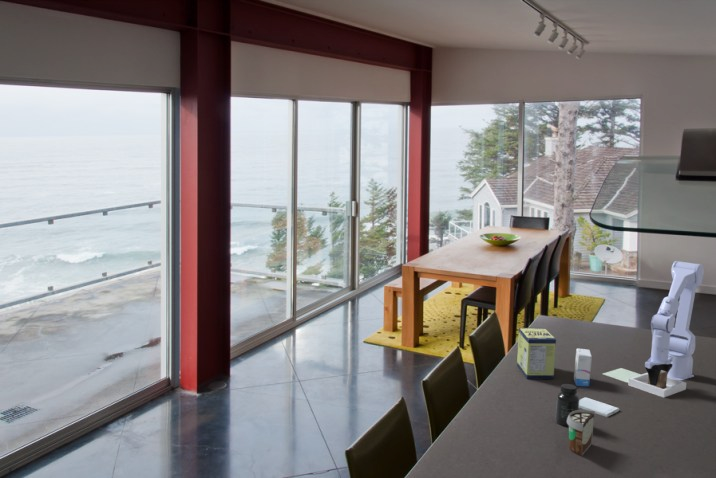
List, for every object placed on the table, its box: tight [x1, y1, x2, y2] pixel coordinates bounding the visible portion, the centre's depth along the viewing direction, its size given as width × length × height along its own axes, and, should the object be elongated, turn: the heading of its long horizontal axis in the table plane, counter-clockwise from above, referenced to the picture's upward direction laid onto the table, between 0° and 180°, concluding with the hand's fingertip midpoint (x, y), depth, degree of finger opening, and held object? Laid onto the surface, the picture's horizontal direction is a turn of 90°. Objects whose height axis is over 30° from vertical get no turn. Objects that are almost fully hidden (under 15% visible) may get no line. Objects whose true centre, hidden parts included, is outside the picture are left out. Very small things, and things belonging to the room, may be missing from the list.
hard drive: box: [579, 396, 620, 418], centre depth 238 cm, size 2×8×12 cm
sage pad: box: [602, 367, 642, 384], centre depth 269 cm, size 12×11×1 cm
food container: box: [567, 409, 596, 456], centre depth 208 cm, size 12×6×10 cm, turn 145°
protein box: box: [516, 327, 557, 380], centre depth 271 cm, size 10×16×16 cm
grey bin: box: [627, 372, 687, 398], centre depth 257 cm, size 14×14×3 cm
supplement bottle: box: [555, 383, 580, 427], centre depth 225 cm, size 7×7×12 cm
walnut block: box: [648, 370, 668, 389], centre depth 256 cm, size 4×4×6 cm
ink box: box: [573, 347, 593, 388], centre depth 261 cm, size 8×5×12 cm, turn 168°
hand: (657, 383), depth 256 cm, fingers closed on walnut block, 4 cm apart
